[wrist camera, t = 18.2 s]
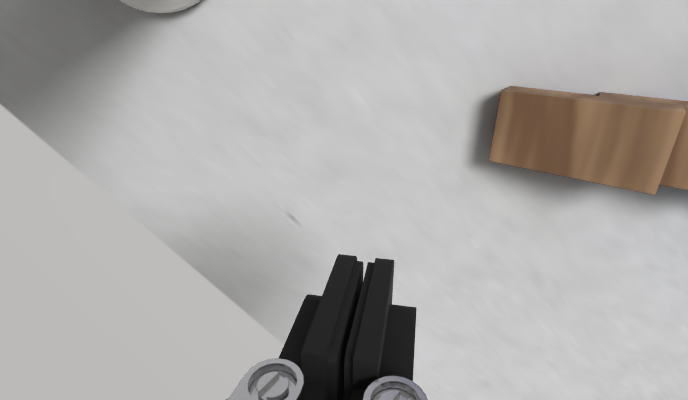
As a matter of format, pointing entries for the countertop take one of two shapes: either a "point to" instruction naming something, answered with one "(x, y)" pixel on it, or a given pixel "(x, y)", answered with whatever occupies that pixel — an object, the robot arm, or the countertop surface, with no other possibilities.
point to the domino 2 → (684, 162)
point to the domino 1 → (586, 136)
